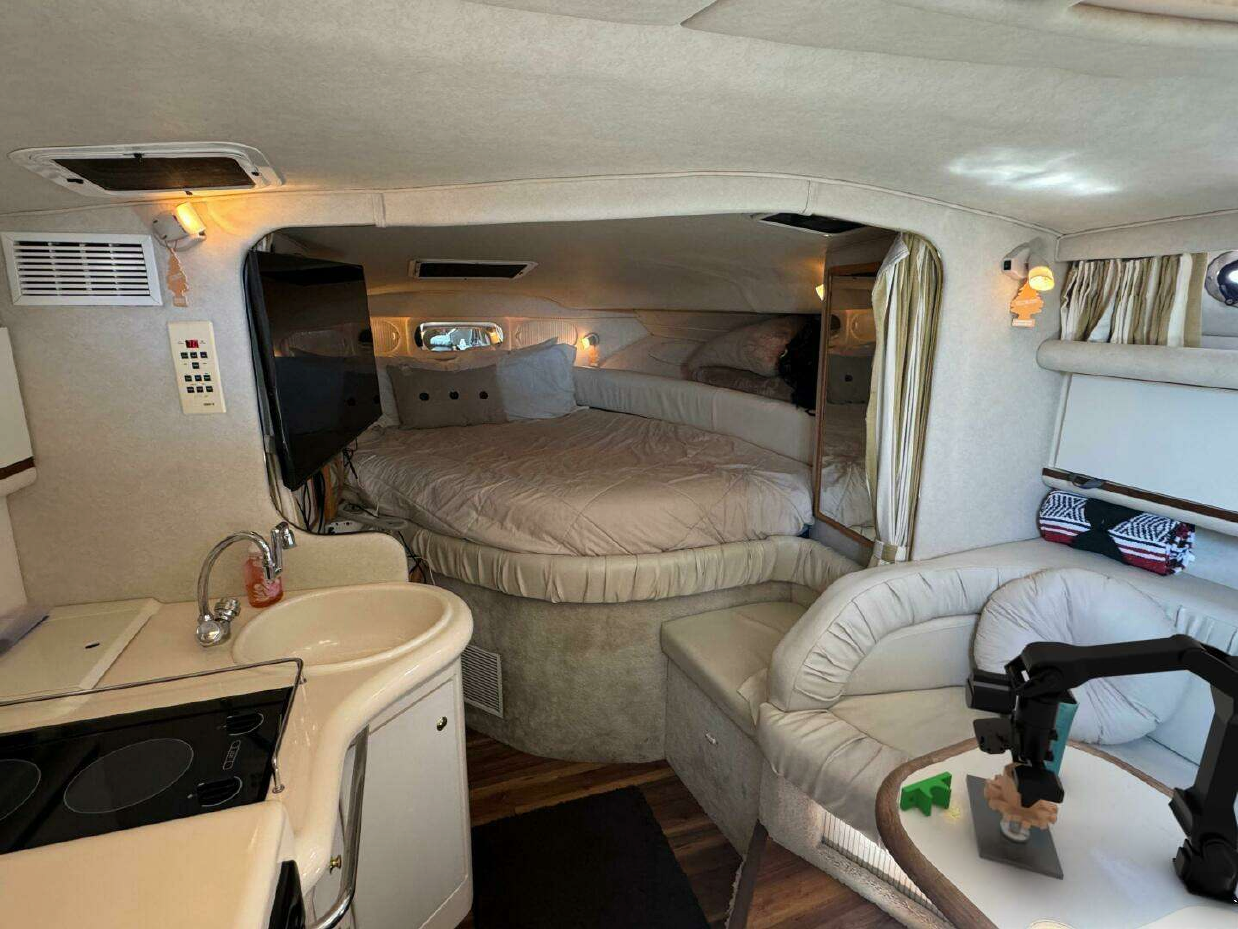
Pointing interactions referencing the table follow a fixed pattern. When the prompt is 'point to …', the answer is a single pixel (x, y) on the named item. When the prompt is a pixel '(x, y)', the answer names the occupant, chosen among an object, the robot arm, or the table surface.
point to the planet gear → (1017, 801)
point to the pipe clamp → (927, 793)
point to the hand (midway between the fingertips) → (1021, 794)
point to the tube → (1061, 734)
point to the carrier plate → (1010, 837)
